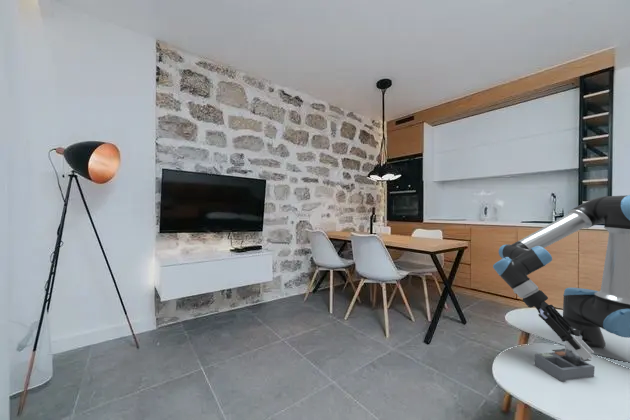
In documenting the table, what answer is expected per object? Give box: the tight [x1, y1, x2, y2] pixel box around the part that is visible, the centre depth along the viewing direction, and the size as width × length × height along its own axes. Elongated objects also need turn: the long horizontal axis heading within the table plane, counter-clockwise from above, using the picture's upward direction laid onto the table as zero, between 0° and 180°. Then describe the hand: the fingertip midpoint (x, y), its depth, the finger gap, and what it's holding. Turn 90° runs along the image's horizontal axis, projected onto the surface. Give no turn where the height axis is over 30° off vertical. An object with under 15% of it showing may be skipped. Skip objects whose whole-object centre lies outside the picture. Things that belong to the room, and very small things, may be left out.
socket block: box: [533, 351, 595, 382], centre depth 91 cm, size 14×9×4 cm, turn 101°
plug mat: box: [551, 348, 592, 362], centre depth 100 cm, size 8×8×1 cm
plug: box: [564, 327, 582, 365], centre depth 91 cm, size 4×4×12 cm
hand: (588, 355), depth 88 cm, fingers closed on plug, 4 cm apart
